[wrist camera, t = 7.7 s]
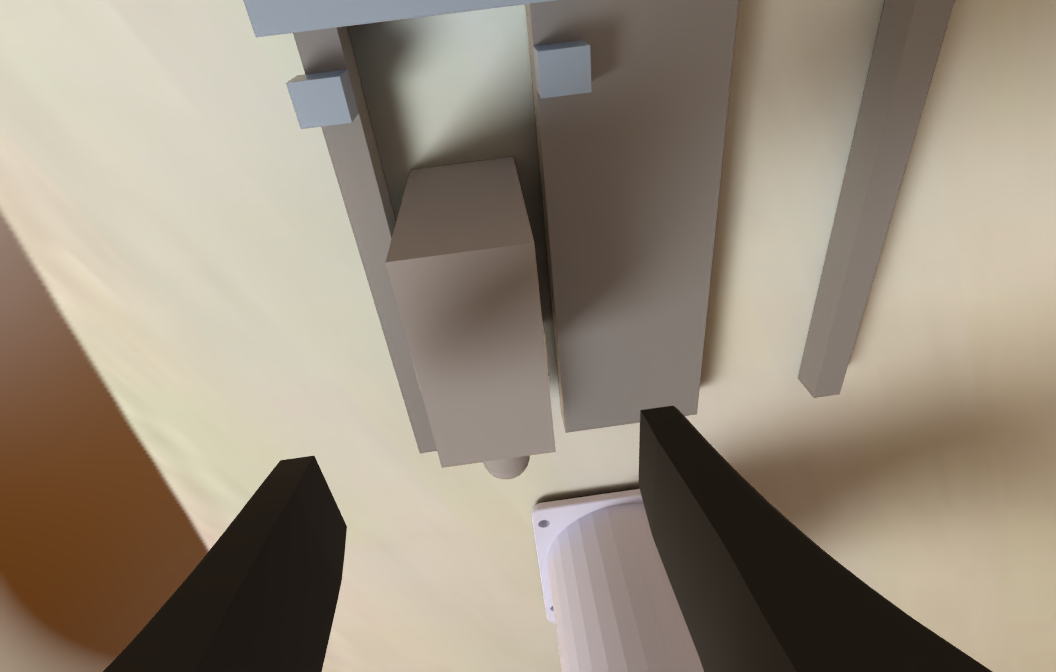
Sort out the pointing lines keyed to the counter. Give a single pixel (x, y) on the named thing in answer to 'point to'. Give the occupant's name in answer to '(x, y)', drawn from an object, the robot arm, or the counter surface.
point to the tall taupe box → (474, 313)
